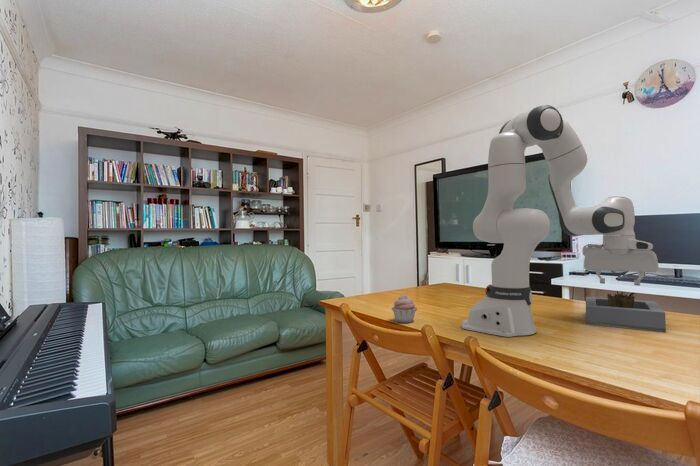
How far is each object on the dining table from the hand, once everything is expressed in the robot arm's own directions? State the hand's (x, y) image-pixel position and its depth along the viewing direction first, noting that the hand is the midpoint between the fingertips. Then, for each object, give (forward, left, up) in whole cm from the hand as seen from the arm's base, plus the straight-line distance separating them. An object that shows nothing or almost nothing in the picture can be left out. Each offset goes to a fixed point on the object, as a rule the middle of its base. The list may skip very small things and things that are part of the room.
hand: (619, 284), depth 119 cm
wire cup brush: (0, 0, -12) cm, 12 cm away
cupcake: (-65, -35, -13) cm, 75 cm away
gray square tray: (0, 0, -13) cm, 13 cm away
